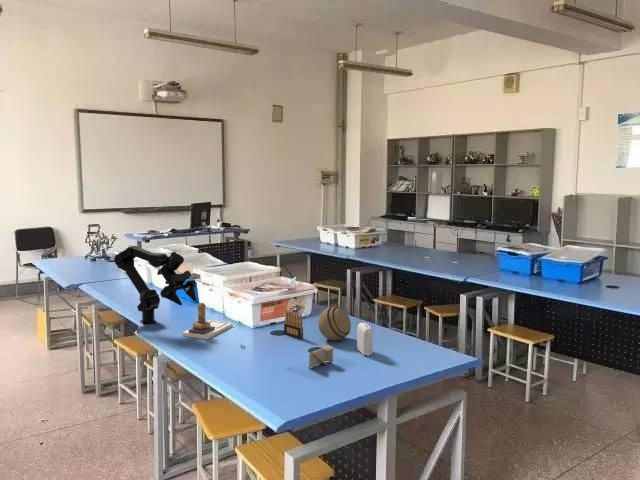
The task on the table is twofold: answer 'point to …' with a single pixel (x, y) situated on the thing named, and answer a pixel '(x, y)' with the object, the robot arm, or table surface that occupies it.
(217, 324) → the stamping board
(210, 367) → the table surface
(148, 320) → the robot arm
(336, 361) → the table surface
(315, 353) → the model
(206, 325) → the stamp
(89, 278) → the table surface
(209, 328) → the ink pad
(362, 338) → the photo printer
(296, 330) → the ammunition clip
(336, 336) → the brown grooved ball
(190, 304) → the table surface
